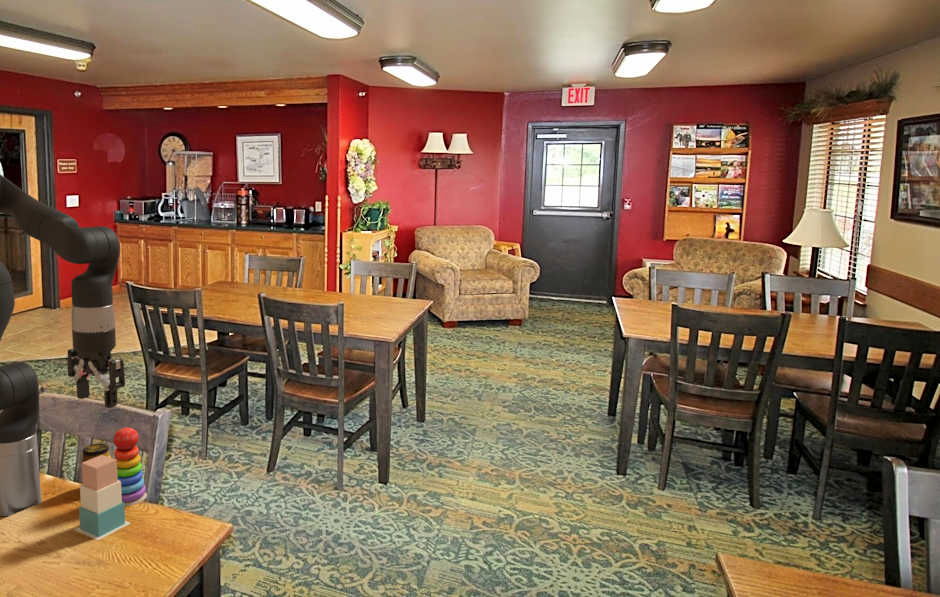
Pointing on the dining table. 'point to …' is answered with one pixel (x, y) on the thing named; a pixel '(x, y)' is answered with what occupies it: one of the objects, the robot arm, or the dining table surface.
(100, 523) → the teal base brick
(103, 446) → the condiment
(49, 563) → the dining table surface
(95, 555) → the dining table surface
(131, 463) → the stacking toy
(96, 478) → the pink cube
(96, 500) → the cream brick
